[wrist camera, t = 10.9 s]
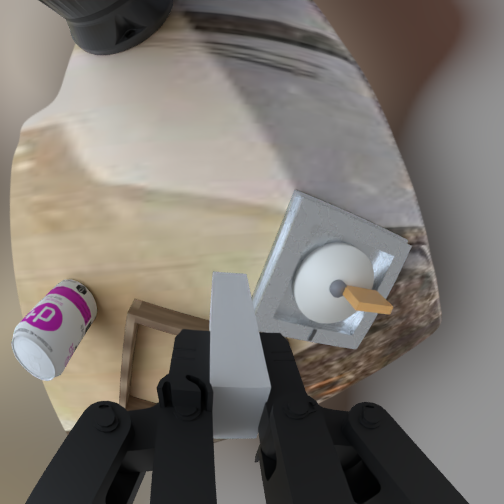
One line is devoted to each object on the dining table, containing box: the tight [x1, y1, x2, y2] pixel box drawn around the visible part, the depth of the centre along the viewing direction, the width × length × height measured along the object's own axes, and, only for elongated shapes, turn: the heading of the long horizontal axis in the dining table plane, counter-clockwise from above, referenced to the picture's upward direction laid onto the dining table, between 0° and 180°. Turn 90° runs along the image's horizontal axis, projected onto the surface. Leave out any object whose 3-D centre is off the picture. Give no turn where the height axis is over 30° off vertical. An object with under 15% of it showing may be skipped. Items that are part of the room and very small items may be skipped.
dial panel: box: [252, 190, 412, 349], centre depth 38 cm, size 20×20×3 cm
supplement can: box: [12, 279, 97, 381], centre depth 29 cm, size 8×8×15 cm
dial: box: [293, 242, 393, 324], centre depth 35 cm, size 13×12×7 cm
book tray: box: [119, 299, 293, 411], centre depth 41 cm, size 24×24×4 cm
